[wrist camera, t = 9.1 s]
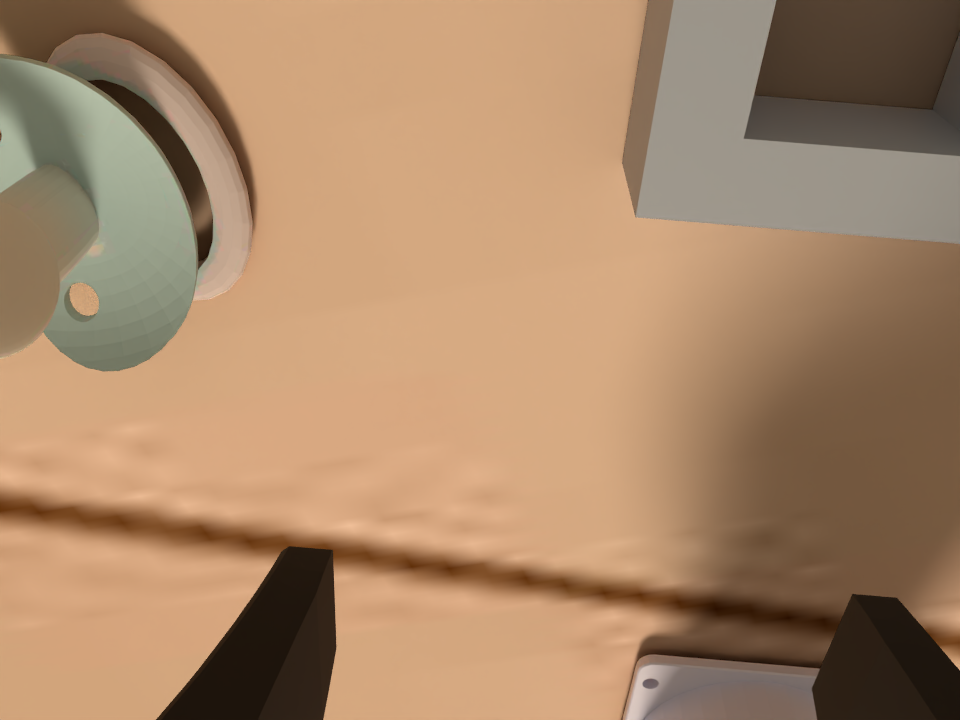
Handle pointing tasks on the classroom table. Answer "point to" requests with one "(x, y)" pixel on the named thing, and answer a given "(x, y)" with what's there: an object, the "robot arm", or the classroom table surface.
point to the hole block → (779, 138)
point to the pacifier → (107, 204)
